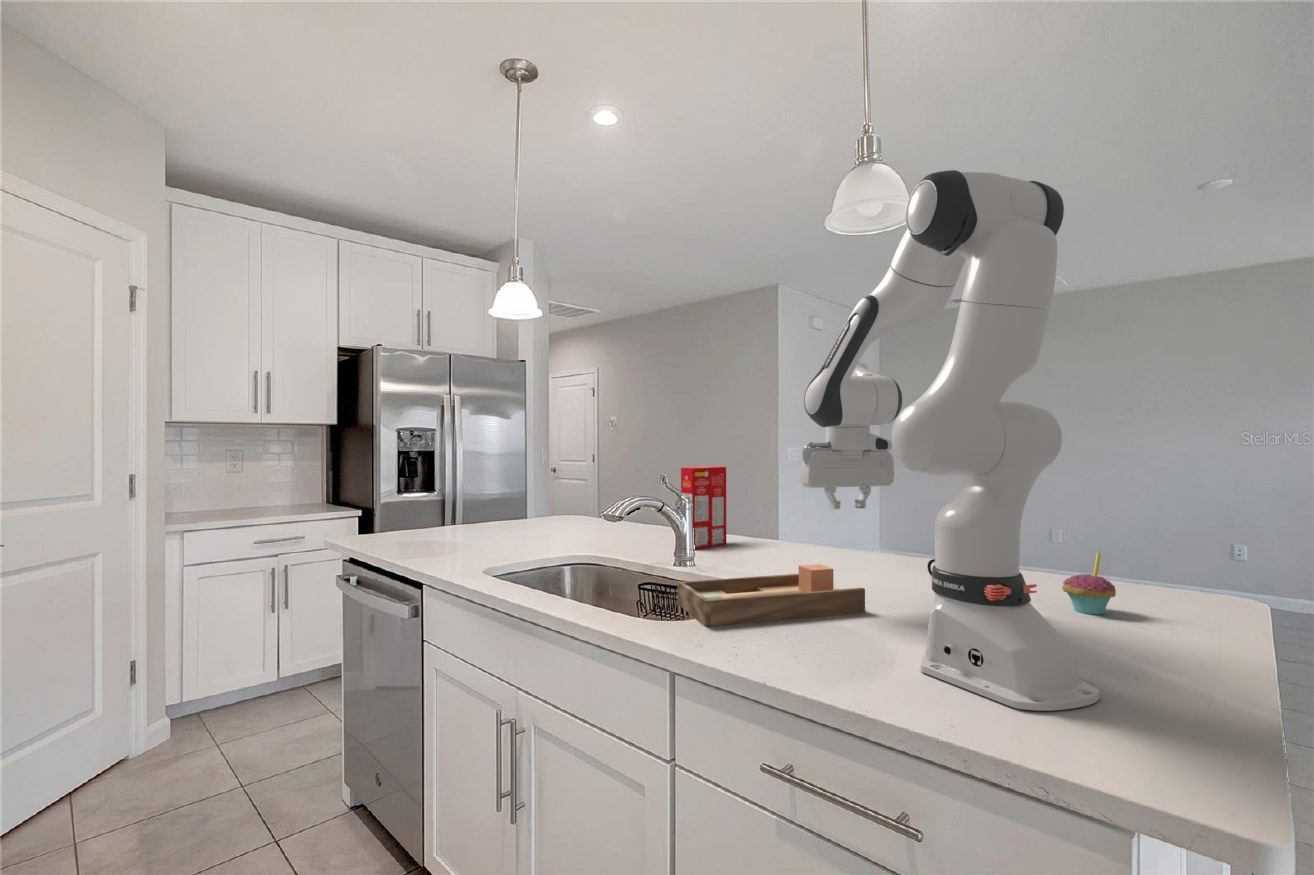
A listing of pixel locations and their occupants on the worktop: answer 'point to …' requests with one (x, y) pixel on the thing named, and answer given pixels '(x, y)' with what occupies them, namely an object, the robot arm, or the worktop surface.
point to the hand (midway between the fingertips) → (847, 508)
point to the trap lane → (763, 600)
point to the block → (815, 578)
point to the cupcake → (1089, 591)
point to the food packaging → (706, 504)
